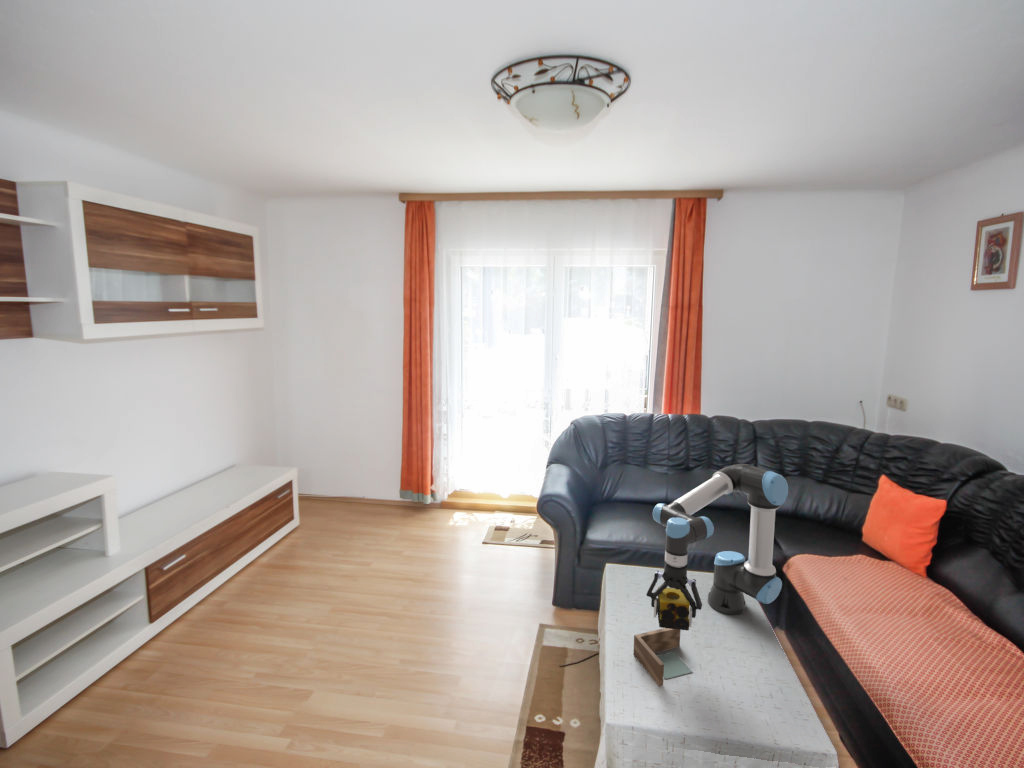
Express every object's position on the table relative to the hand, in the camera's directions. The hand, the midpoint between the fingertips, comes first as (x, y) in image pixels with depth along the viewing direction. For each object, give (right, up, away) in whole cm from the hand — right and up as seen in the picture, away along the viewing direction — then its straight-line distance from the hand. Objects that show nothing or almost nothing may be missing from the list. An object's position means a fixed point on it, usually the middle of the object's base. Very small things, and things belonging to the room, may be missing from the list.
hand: (672, 620), depth 180 cm
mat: (0, -18, +3) cm, 18 cm away
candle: (0, -1, 0) cm, 1 cm away
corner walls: (0, -18, +4) cm, 18 cm away
